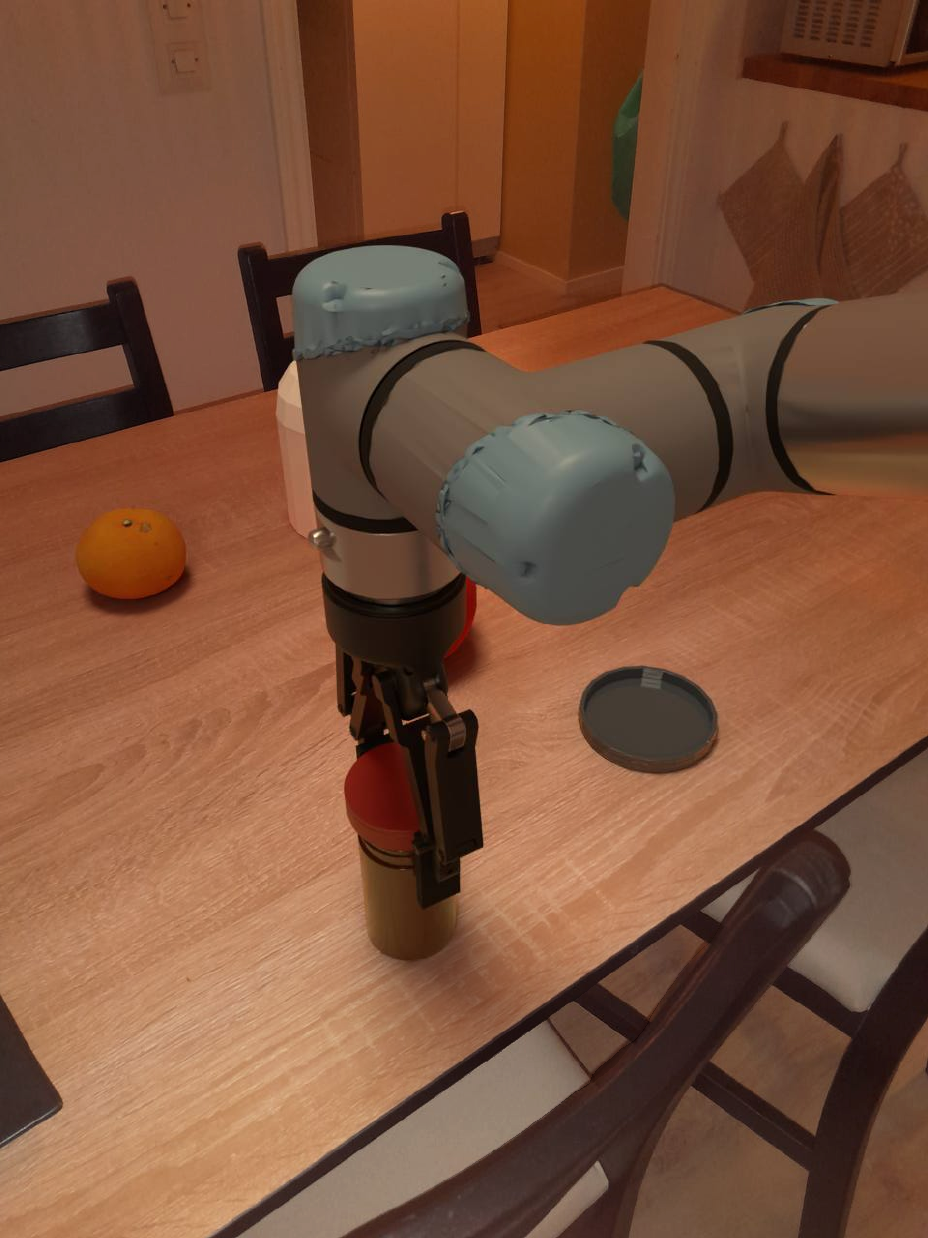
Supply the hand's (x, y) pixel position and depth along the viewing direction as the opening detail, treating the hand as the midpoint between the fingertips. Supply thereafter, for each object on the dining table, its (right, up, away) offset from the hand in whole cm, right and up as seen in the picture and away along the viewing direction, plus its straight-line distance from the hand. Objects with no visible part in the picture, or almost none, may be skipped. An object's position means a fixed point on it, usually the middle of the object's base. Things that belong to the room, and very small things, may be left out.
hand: (409, 850), depth 64 cm
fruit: (-30, +19, +37) cm, 51 cm away
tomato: (-1, +12, +29) cm, 31 cm away
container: (-10, +27, +48) cm, 56 cm away
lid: (0, +5, -4) cm, 6 cm away
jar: (0, -6, +5) cm, 8 cm away
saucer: (+20, +6, +21) cm, 29 cm away
